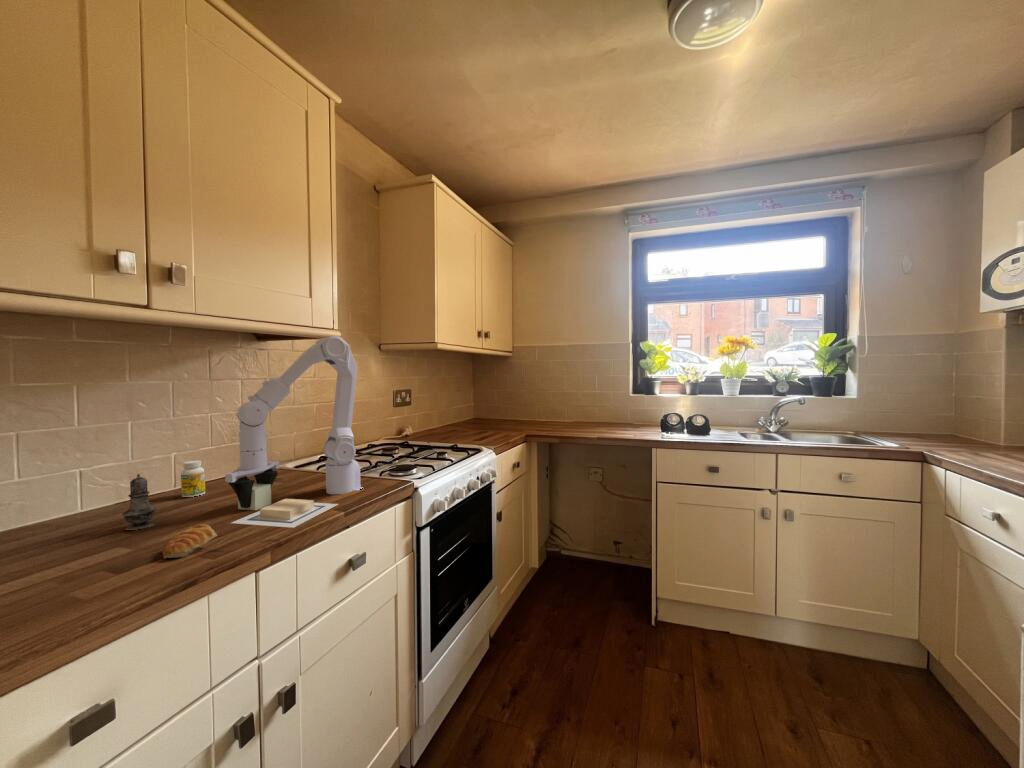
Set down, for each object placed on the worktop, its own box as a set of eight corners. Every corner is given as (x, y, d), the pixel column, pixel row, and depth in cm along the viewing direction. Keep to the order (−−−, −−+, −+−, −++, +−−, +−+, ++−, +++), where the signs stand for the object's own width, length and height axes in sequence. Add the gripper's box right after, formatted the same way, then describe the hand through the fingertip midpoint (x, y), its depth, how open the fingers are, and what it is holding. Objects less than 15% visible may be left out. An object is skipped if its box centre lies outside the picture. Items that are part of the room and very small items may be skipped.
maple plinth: (285, 506, 103) (285, 498, 103) (314, 508, 101) (313, 500, 101) (260, 517, 95) (259, 509, 95) (290, 519, 93) (290, 511, 93)
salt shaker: (164, 523, 95) (162, 471, 95) (134, 532, 89) (132, 477, 89) (145, 520, 97) (143, 470, 96) (115, 530, 91) (113, 476, 91)
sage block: (254, 506, 106) (254, 483, 106) (271, 507, 105) (270, 484, 105) (238, 513, 101) (237, 488, 101) (255, 514, 100) (254, 489, 100)
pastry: (190, 560, 76) (189, 539, 76) (150, 563, 75) (149, 542, 75) (219, 539, 85) (219, 521, 85) (184, 542, 85) (183, 523, 84)
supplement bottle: (209, 492, 120) (207, 459, 120) (199, 497, 115) (198, 463, 114) (187, 493, 119) (186, 460, 118) (177, 499, 114) (176, 464, 113)
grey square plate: (283, 504, 107) (283, 500, 107) (338, 507, 104) (338, 503, 104) (230, 527, 92) (230, 522, 92) (293, 532, 88) (293, 527, 88)
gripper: (262, 444, 111) (264, 494, 111) (213, 455, 97) (215, 512, 97) (285, 444, 109) (286, 495, 110) (239, 455, 95) (240, 514, 96)
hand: (254, 503), depth 103 cm, fingers closed on sage block, 5 cm apart
